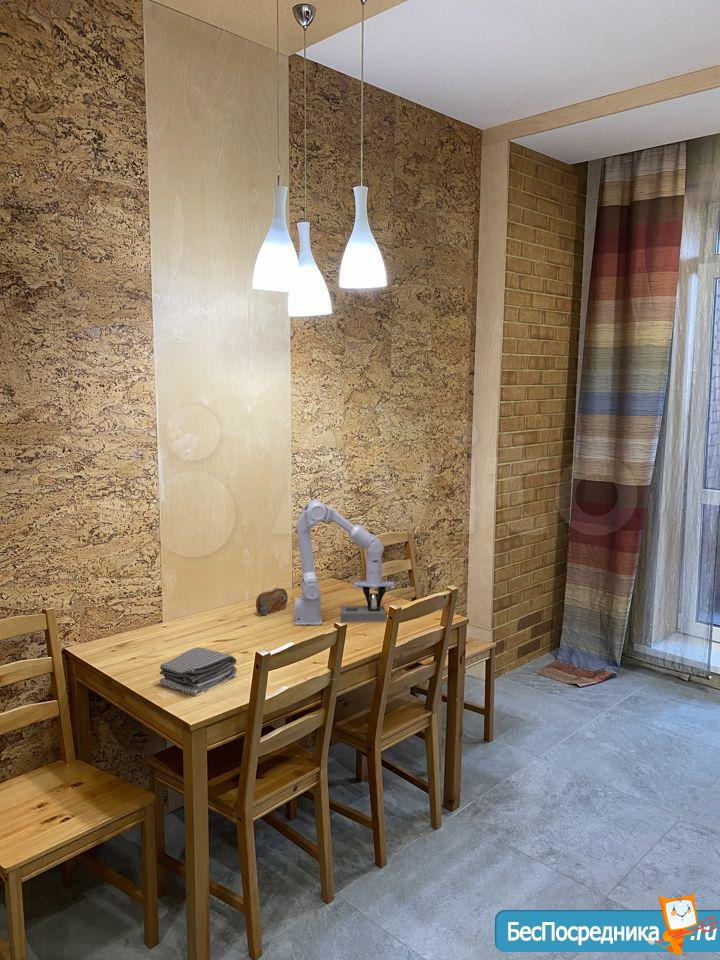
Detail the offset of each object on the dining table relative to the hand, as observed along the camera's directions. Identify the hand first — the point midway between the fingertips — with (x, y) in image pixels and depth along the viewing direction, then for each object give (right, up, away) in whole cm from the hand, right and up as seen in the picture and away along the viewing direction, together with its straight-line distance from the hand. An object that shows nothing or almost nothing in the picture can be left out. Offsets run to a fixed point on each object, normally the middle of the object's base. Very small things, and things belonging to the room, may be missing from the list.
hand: (373, 607), depth 276 cm
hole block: (-4, -4, 0) cm, 6 cm away
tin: (-38, -3, +8) cm, 39 cm away
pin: (0, -3, 0) cm, 3 cm away
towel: (-52, -13, -55) cm, 77 cm away
